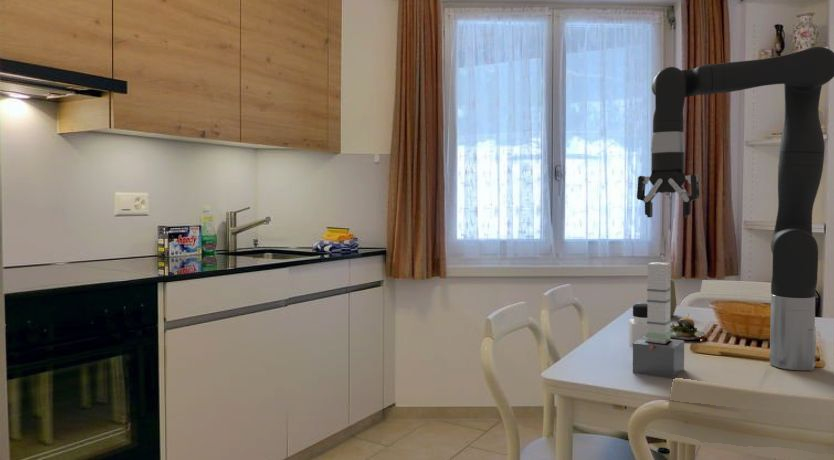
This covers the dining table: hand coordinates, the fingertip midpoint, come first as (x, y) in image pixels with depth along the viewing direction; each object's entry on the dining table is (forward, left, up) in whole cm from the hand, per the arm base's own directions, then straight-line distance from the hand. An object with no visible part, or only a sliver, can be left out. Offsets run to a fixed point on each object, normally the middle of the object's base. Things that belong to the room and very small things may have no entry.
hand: (667, 217), depth 159 cm
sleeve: (-2, +14, -36) cm, 39 cm away
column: (-2, +14, -28) cm, 31 cm away
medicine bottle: (+9, -12, -36) cm, 39 cm away
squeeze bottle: (+17, -61, -36) cm, 73 cm away
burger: (+3, -30, -37) cm, 47 cm away
